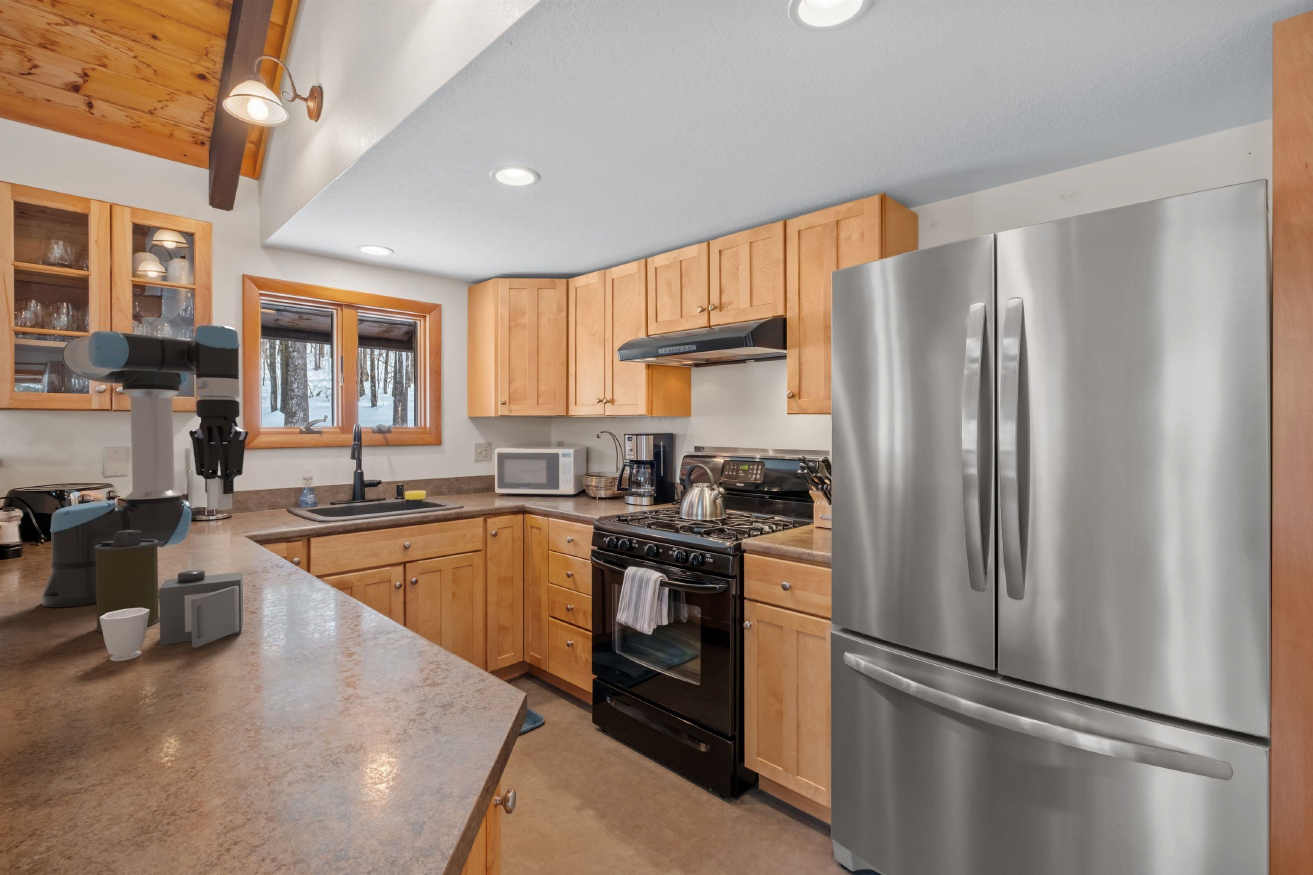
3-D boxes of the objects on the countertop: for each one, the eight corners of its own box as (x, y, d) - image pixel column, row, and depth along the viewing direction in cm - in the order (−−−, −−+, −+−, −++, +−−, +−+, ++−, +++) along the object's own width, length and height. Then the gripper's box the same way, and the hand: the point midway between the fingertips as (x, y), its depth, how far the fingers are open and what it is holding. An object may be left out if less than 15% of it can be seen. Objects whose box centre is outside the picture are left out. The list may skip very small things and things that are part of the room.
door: (190, 646, 116) (190, 599, 116) (234, 629, 126) (234, 585, 125) (198, 647, 116) (197, 599, 115) (241, 630, 125) (240, 585, 125)
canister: (172, 617, 137) (171, 527, 137) (127, 633, 127) (126, 535, 126) (127, 616, 138) (126, 526, 138) (79, 631, 128) (77, 534, 127)
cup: (100, 667, 109) (99, 621, 109) (100, 651, 116) (99, 608, 116) (151, 657, 114) (150, 613, 113) (148, 643, 121) (147, 601, 121)
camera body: (166, 633, 127) (165, 572, 126) (243, 622, 133) (242, 564, 133) (159, 645, 119) (158, 581, 119) (241, 634, 126) (240, 572, 126)
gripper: (172, 398, 131) (174, 510, 131) (231, 397, 127) (232, 512, 127) (206, 400, 138) (207, 506, 138) (262, 399, 134) (263, 508, 135)
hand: (219, 509), depth 133 cm, fingers open, 2 cm apart
